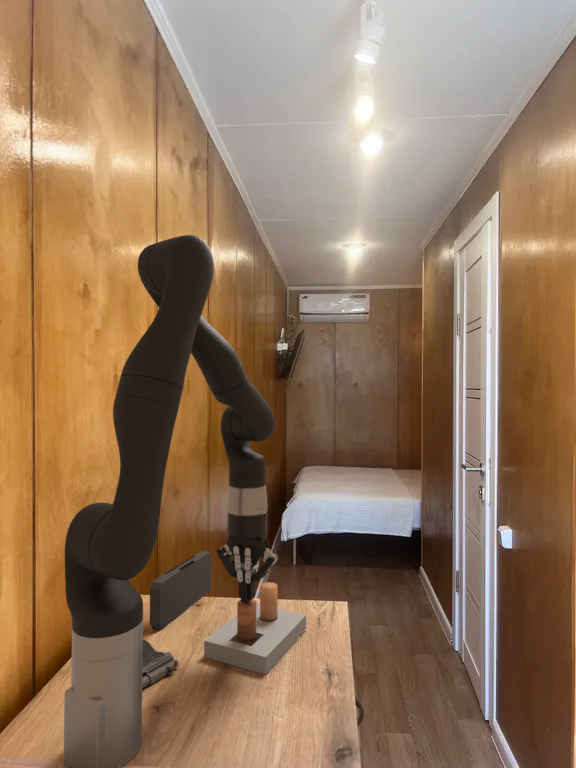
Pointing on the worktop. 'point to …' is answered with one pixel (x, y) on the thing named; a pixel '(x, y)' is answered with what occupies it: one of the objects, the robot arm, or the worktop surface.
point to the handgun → (155, 664)
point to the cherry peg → (246, 622)
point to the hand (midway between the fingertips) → (247, 600)
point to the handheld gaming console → (179, 589)
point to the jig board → (258, 635)
